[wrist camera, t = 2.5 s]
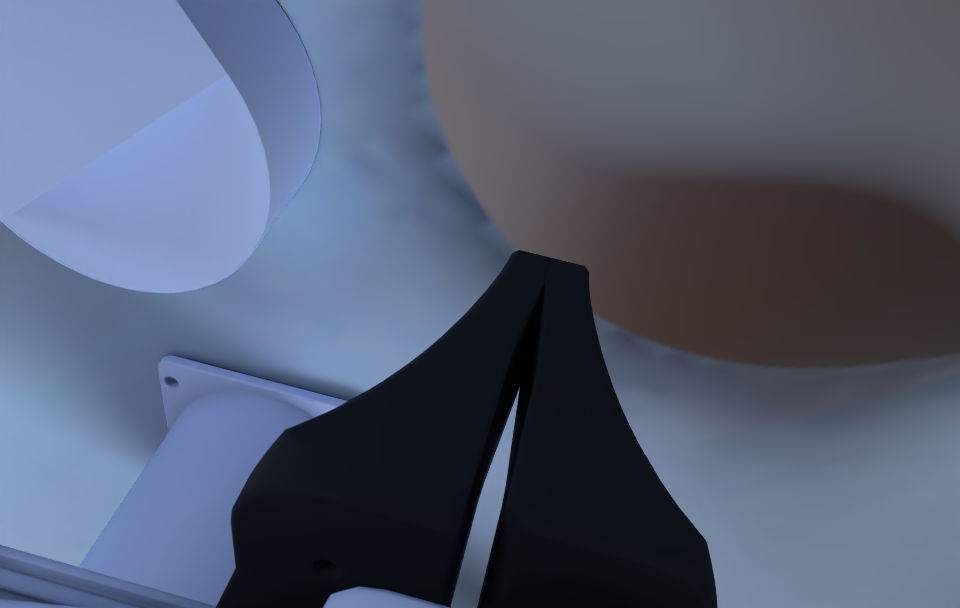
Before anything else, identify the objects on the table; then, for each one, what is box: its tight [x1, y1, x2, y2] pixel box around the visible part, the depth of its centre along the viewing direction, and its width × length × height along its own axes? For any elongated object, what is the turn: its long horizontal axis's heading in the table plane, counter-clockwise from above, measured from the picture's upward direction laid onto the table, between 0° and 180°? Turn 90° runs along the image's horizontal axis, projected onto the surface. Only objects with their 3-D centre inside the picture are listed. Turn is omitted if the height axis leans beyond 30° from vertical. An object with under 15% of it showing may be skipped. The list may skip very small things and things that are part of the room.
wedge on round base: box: [0, 0, 321, 293], centre depth 19 cm, size 9×7×13 cm
